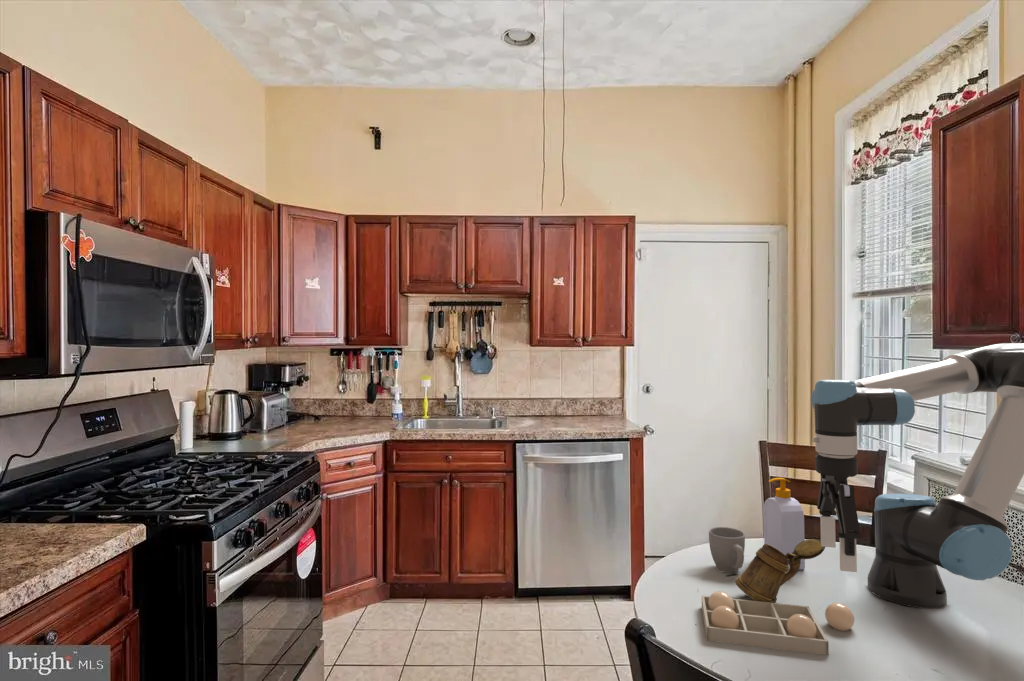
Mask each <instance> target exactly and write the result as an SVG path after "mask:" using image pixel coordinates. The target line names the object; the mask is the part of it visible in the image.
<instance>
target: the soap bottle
mask: <svg viewBox="0 0 1024 681" xmlns="http://www.w3.org/2000/svg"><path fill="white" fill-rule="evenodd" d="M776 481H780V482H779V483H780V484H779V487H777V488H775V495H774V497H768V498H767V499H765V501H764V502H763V504H764V505H763V529H764V530H763V535H764V538H763V539H764V540H763V541H764V542H763V543H764V544H768V545H770V546H772V547H774V548H776V549H778V550H779V551H780V552H782V553H783V554H784V555H786V554H787V553H793V552H794V549H795V547H796V546H797V545H798V544H799V543H800V542H802V541H804V540H806V539H805V515H804V510H803V507H802V505H801V503H800V501H799V500H797V499H796V498H795V497H791V495H792V494H791V489H789V488H786V486H787V483H786V482H788V483H791V481H790V480H789V479H786V478H784V477H773V478H771V479H769V480H768V483H770V484H771V483H773V482H776ZM764 544H763V545H764ZM788 566H789V568H788V571H789V569H790V565H789V564H788ZM805 569H806V559H801V563H800V567H799V569H798V571H799V570H805Z"/></svg>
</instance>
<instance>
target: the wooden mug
mask: <svg viewBox="0 0 1024 681" xmlns="http://www.w3.org/2000/svg"><path fill="white" fill-rule="evenodd" d="M825 549H826V547H822V546H821V539H817V538H807V539H805V540H804V541H802V542H800V543H799V544H798V545H797V546H796V547H795V549H794V552H793V553H787V554H786V555H784V554H783V553H782V552H780V551H779V550H778V549H776V548H774V547H772V546H770V545H768V544H763V545H762V547H759V549H757V551H756V552H755V556H754V558H753V559H752V560H751V562H750V563H749V564H748V566H747V567H746V568H745V570H744V571H743V572H742V574H739V575H738V576H737V578H736V579H735V580H734V583H735V585H736V586H737V588H738V589H739V590H740V591H741V592H743V593H744V594H745V595H746V596H747V597H749V598H750V599H752V601H760V602H770V603H777V596H778V593H779V591H780V589H781V587H782V586H783V585H784V584H786V583H787V582H788V581H790V580H791V579H793V577H795V575H796V574H797V572H798V571H799V570H798V569H799V567H800V563H801V559H805V560H811V559H815V558H816V557H819V556H820V555H822V553H823V552H824V551H825ZM788 564H789V565H790V569H789V570H788V568H789V566H788Z"/></svg>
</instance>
